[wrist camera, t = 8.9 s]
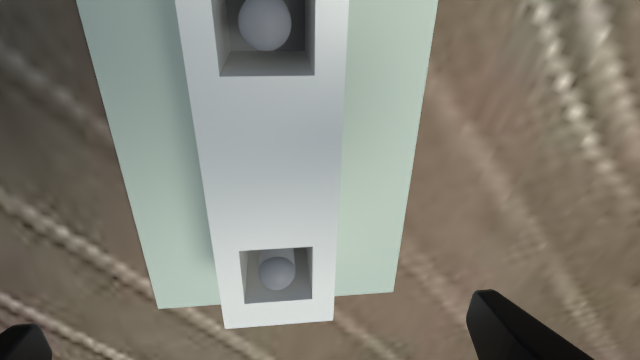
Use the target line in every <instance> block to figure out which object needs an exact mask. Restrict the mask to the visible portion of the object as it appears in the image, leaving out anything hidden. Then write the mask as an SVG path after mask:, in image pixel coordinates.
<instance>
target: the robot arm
mask: <svg viewBox="0 0 640 360" xmlns="http://www.w3.org/2000/svg"><path fill="white" fill-rule="evenodd" d="M466 323H467V327H468V330H469V333H470V336H471V339H472V342H473V344H474V347H475V350H476V353H477V356H478V359H479V360H594V359H593V358H591V357H590V356H589V355H587V354H586V353H584V352H583V351H581V350H580V349H579V348H577V347H576V346H574V345H573V344H571V343H570V342H569V341H567V340H566V339H564V338H563V337H561V336H560V335H559V334H557V333H556V332H554V331H553V330H551V329H550V328H548V327H547V326H546V325H544V324H543V323H541V322H540V321H538V320H537V319H536V318H534V317H533V316H531V315H530V314H528V313H527V312H526V311H524V310H523V309H521V308H520V307H518V306H517V305H516V304H514V303H513V302H511V301H510V300H508V299H507V298H505V297H504V296H503V295H501V294H500V293H498V292H497V291H495V290H492V289H488V290H477V291H475V292H474V293H473V295H472V298H471V302H470V305H469V309H468V312H467V316H466ZM0 360H52V350H51V348H50V346H49V344H48V342H47V339H46V337H45V335H44V333H43V331H42V329H41V328H40V326H39V325H37V324H34V323H32V324H19V325H14V326H11V327H9V328H8V329H6V330H5V331H4V332H2V333H1V334H0Z"/></svg>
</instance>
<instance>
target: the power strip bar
mask: <svg viewBox="0 0 640 360" xmlns="http://www.w3.org/2000/svg"><path fill="white" fill-rule="evenodd" d="M175 5H176V12H177V18H178V25H179V31H180V38H181V45H182V51H183V58H184V64H185V71H186V77H187V84H188V90H189V97H190V103H191V110H192V116H193V123H194V130H195V136H196V143H197V149H198V156H199V162H200V169H201V175H202V182H203V188H204V195H205V202H206V208H207V215H208V221H209V228H210V234H211V241H212V247H213V254H214V260H215V267H216V274H217V280H218V287H219V293H220V300H221V306H222V313H223V319H224V326H225V329H231V328H243V327H256V326H268V325H281V324H293V323H306V322H318V321H331V320H333V312H334V292H335V272H336V252H337V232H338V212H339V192H340V172H341V152H342V132H343V113H344V93H345V73H346V53H347V33H348V13H349V0H305V51H231V49H230V38H229V27H228V17H227V6H226V0H175ZM281 248H294V259H295V276H294V279H293V281H292V282H291V284H290V285H289V286H287V287H286V288H284V289H281V290H271V289H269V288H267V287H265V286H264V285H263V284H262V282H261V281H260V278H259V275H258V264H259V250H264V249H281Z"/></svg>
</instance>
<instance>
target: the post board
mask: <svg viewBox="0 0 640 360" xmlns="http://www.w3.org/2000/svg"><path fill="white" fill-rule="evenodd" d="M76 2H77V6H78V10H79V14H80V17H81V21H82V25H83V29H84V32H85V36H86V40H87V44H88V47H89V51H90V55H91V59H92V62H93V66H94V70H95V74H96V77H97V81H98V85H99V89H100V92H101V96H102V100H103V104H104V107H105V111H106V115H107V119H108V122H109V126H110V130H111V134H112V137H113V141H114V145H115V148H116V152H117V156H118V160H119V163H120V167H121V171H122V175H123V178H124V182H125V186H126V190H127V193H128V197H129V201H130V205H131V208H132V212H133V216H134V220H135V223H136V227H137V231H138V235H139V238H140V242H141V246H142V250H143V253H144V257H145V261H146V265H147V268H148V272H149V276H150V280H151V283H152V287H153V291H154V295H155V298H156V302H157V306H158V309H163V308H177V307H191V306H205V305H218V304H221V300H220V293H219V287H218V280H217V274H216V267H215V260H214V254H213V247H212V241H211V234H210V228H209V221H208V215H207V208H206V202H205V195H204V188H203V182H202V175H201V169H200V162H199V156H198V149H197V143H196V136H195V130H194V123H193V116H192V110H191V103H190V97H189V90H188V84H187V77H186V71H185V64H184V58H183V51H182V45H181V38H180V31H179V25H178V18H177V12H176V5H175V0H76ZM437 4H438V0H349V13H348V33H347V53H346V73H345V93H344V113H343V132H342V152H341V172H340V192H339V212H338V232H337V252H336V272H335V292H334V296H343V295H357V294H370V293H384V292H393V289H394V283H395V276H396V270H397V263H398V257H399V250H400V244H401V237H402V231H403V224H404V218H405V211H406V205H407V198H408V192H409V186H410V179H411V173H412V166H413V160H414V153H415V147H416V140H417V134H418V127H419V121H420V114H421V108H422V101H423V95H424V89H425V82H426V76H427V69H428V63H429V56H430V50H431V43H432V37H433V30H434V24H435V17H436V11H437ZM226 6H227V17H228V27H229V38H230V49H231V51H305V0H226ZM258 275H259V278H260V281H261V282H262V284H263V285H264V286H265V287H267V288H269V289H271V290H281V289H284V288H286V287H287V286H289V285H290V284H291V282H292V281H293V279H294V276H295V259H294V248H281V249H264V250H259V264H258Z"/></svg>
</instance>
